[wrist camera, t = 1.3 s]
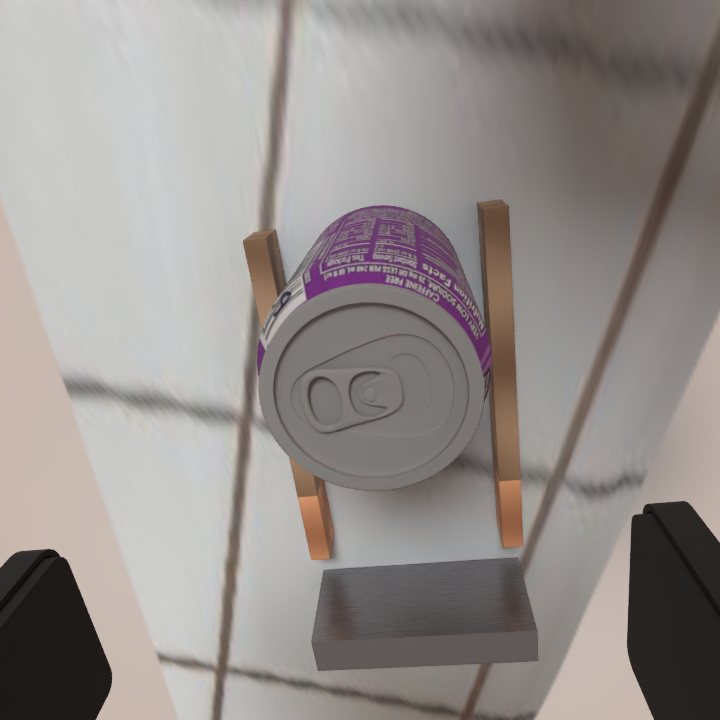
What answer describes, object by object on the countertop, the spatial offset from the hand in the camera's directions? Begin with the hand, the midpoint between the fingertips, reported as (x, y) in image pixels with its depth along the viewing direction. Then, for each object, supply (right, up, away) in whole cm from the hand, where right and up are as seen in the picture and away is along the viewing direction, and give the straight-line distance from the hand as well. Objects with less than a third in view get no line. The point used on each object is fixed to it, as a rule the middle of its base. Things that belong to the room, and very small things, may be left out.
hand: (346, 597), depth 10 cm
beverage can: (+1, +8, +17) cm, 19 cm away
